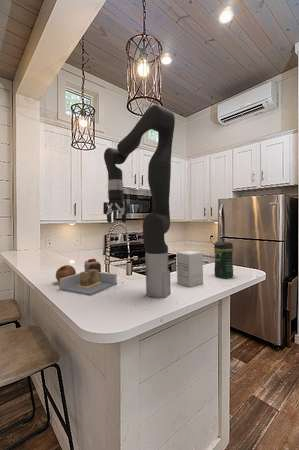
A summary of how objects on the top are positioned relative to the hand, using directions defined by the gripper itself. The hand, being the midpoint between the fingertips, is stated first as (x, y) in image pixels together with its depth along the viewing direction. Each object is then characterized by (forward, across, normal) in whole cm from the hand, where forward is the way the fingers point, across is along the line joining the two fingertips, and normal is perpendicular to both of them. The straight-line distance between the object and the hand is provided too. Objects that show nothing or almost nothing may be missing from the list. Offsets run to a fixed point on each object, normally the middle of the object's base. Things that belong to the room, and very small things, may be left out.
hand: (116, 222), depth 116 cm
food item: (+30, -20, +4) cm, 36 cm away
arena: (+29, -7, -13) cm, 33 cm away
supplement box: (+30, +33, +11) cm, 46 cm away
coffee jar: (+30, +46, +31) cm, 63 cm away
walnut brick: (+28, -8, -12) cm, 32 cm away
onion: (+29, -23, -12) cm, 39 cm away
